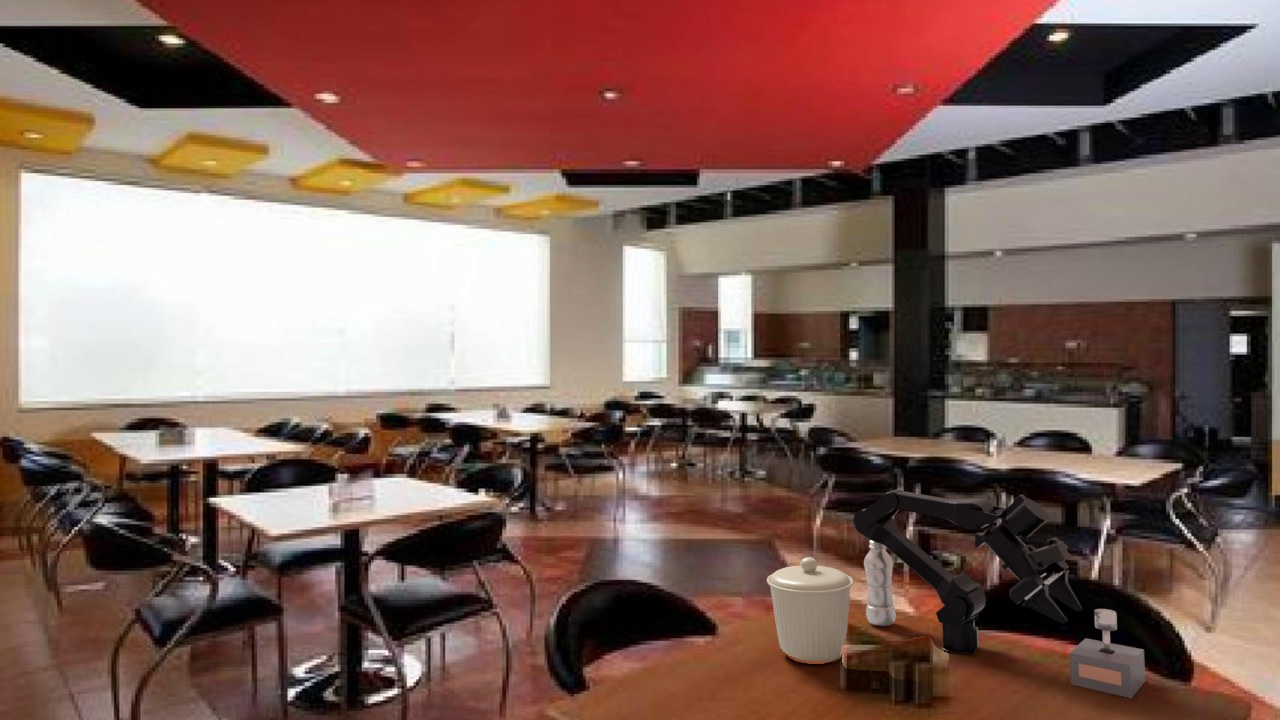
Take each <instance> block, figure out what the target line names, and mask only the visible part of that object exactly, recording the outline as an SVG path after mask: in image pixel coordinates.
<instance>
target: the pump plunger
mask: <svg viewBox="0 0 1280 720" xmlns="http://www.w3.org/2000/svg"><path fill="white" fill-rule="evenodd" d="M1093 613H1094V627H1095V628H1096V629H1098V630H1101V631H1102V641H1103V653H1107V654H1111V650H1110V643H1111V634H1110V633H1111V632H1114V631H1117V630H1118V621H1117V620H1118V617H1117V611H1115V610H1112V609H1107V608H1097V609H1094V611H1093Z"/></svg>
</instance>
